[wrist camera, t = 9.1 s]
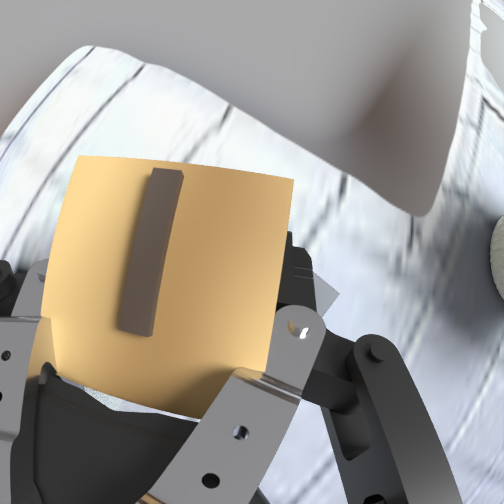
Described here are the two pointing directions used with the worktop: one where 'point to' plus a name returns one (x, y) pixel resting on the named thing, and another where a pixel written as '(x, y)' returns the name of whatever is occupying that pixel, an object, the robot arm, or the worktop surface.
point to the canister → (498, 256)
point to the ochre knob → (165, 278)
